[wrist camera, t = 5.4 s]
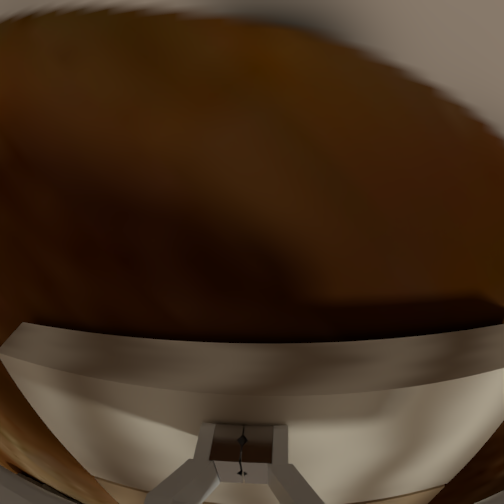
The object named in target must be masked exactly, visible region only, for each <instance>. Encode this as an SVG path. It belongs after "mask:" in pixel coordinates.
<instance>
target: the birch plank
mask: <svg viewBox="0 0 504 504" xmlns="http://www.w3.org/2000/svg"><path fill="white" fill-rule="evenodd" d="M0 359H1V361H2V363H3V364H4V366H5V368H6V369H7V371H8V372H9V374H10V376H11V377H12V379H13V380H14V382H15V383H16V385H17V386H18V388H19V389H20V391H21V392H22V393H23V395H24V396H25V398H26V399H27V401H28V402H29V403H30V405H31V406H32V407H33V409H34V410H35V411H36V413H37V414H38V415H39V417H40V418H41V419H42V420H43V422H44V423H45V424H46V425H47V427H48V428H49V429H50V430H51V432H52V433H53V434H54V435H55V436H56V437H57V439H58V440H59V441H60V442H61V443H62V444H63V445H64V447H65V448H66V449H67V450H68V451H69V452H70V453H71V454H72V455H73V456H74V458H75V459H76V460H77V461H78V462H79V463H80V464H81V465H82V466H83V467H84V468H85V469H86V470H87V471H88V472H89V473H90V474H91V475H93V476H96V477H99V478H102V479H106V480H109V481H112V482H115V483H119V484H122V485H126V486H129V487H133V488H137V489H141V490H145V491H149V492H150V491H151V490H152V489H154V488H155V487H156V486H157V485H159V484H160V483H161V482H162V481H163V480H165V479H166V478H167V477H168V476H169V475H171V474H172V473H173V472H174V471H175V470H177V469H178V468H179V467H180V466H181V465H182V464H183V463H185V462H186V461H187V460H188V459H193V457H194V453H195V448H196V444H197V440H198V435H199V431H200V427H201V425H202V423H217V424H228V425H244V426H246V425H273V429H274V426H276V425H288V464H293V465H294V466H295V467H296V469H297V470H298V471H299V472H300V474H301V475H302V476H303V477H304V479H305V480H306V481H307V482H308V484H309V485H310V486H311V487H312V489H313V490H314V491H315V492H316V493H317V495H318V496H319V497H320V498H321V499H322V500H323V502H324V503H325V504H347V503H356V502H364V501H370V500H377V499H383V498H388V497H394V496H399V495H404V494H408V493H413V492H417V491H421V490H425V489H429V488H433V487H436V486H440V485H443V484H447V483H448V482H449V481H450V480H451V479H452V478H453V477H454V476H455V475H456V474H457V473H458V472H459V471H460V470H461V469H462V468H463V467H464V466H465V465H466V464H467V463H468V462H469V461H470V460H471V459H472V458H473V457H474V455H475V454H476V453H477V452H478V451H479V450H480V449H481V447H482V446H483V445H484V444H485V443H486V442H487V440H488V439H489V438H490V437H491V436H492V434H493V433H494V432H495V431H496V429H497V428H498V427H499V426H500V424H501V423H502V422H503V420H504V324H500V325H494V326H489V327H482V328H476V329H470V330H463V331H456V332H448V333H440V334H432V335H423V336H413V337H403V338H392V339H379V340H365V341H348V342H326V343H283V344H257V343H214V342H192V341H175V340H160V339H148V338H136V337H126V336H116V335H107V334H98V333H90V332H83V331H75V330H68V329H61V328H55V327H48V326H42V325H36V324H31V323H25V322H22V323H21V325H20V326H19V327H18V328H17V329H16V330H15V331H14V332H13V333H12V334H11V336H10V337H9V338H8V339H7V340H6V341H5V342H4V343H3V345H2V346H1V347H0ZM204 502H212V503H220V504H280V503H279V501H278V500H277V498H276V497H275V495H274V494H273V492H272V490H271V489H270V487H269V486H268V484H251V483H245V480H243V483H231V482H220V484H219V485H218V486H217V487H216V488H215V490H214V491H213V492H212V493H211V494H210V495H209V496H208V497H207V498H206V499H205V500H204Z"/></svg>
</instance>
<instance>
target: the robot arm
mask: <svg viewBox="0 0 504 504" xmlns="http://www.w3.org/2000/svg"><path fill="white" fill-rule="evenodd" d="M243 480H245V483H251V484H268V486H269V487H270V489H271V490H272V492H273V494H274V495H275V497H276V498H277V500H278V501H279V503H280V504H325V503H324V502H323V500H322V499H321V498H320V497H319V496H318V495H317V493H316V492H315V491H314V490H313V489H312V487H311V486H310V485H309V484H308V482H307V481H306V480H305V479H304V477H303V476H302V475H301V474H300V472H299V471H298V470H297V469H296V467H295V466H294V465H293V464H288V425H276V426H274V429H273V425H246V426H244V425H228V424H217V423H202V425H201V427H200V431H199V435H198V440H197V444H196V448H195V453H194V457H193V459H188V460H187V461H186V462H185V463H183V464H182V465H181V466H180V467H179V468H178V469H177V470H175V471H174V472H173V473H172V474H171V475H169V476H168V477H167V478H166V479H165V480H163V481H162V482H161V483H160V484H159V485H157V486H156V487H155V488H154V489H152V490H151V491H150V492H149V493H147V495H146V498H145V501H144V504H202V503H203V502H204V500H205V499H206V498H207V497H208V496H209V495H210V494H211V493H212V492H213V491H214V490H215V488H216V487H217V486H218V485H219V484H220V482H231V483H243ZM0 504H77V503H74V502H72V501H70V500H67V499H65V498H63V497H60V496H58V495H56V494H54V493H51V492H49V491H47V490H45V489H43V488H41V487H39V486H37V485H35V484H33V483H31V482H29V481H27V480H25V479H24V478H22V477H20V476H18V475H16V474H14V473H13V472H11V471H9V470H8V469H6V468H4V467H3V466H1V465H0ZM474 504H504V490H503V491H501V492H499V493H497V494H494V495H492V496H490V497H488V498H486V499H483V500H481V501H479V502H476V503H474Z"/></svg>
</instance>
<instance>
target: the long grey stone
mask: <svg viewBox="0 0 504 504" xmlns="http://www.w3.org/2000/svg"><path fill="white" fill-rule="evenodd" d="M16 475H18V476H20V477H22V478H24V479H25V480H27V481H29V482H31V483H33V484H35V485H37V486H39V487H41V488H43V489H45V490H47V491H49V492H51V493H54V494H56V495H58V496H60V497H63V498H65V499H67V500H70V501H72V502H74V503H77V504H81V503H80V502H78V501H76V500H74V499H71V498H68V497H66V496H65V495H63V494H61V493H60V492H58V491H56V490H54V489H53V488H51V487H49V486H47V485H46V484H43V485H42V484H40V483H39V482H37V481H35V480H33V479H32V478H29V477H26V476H25V475H22V474H21V473H18V474H16Z"/></svg>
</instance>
